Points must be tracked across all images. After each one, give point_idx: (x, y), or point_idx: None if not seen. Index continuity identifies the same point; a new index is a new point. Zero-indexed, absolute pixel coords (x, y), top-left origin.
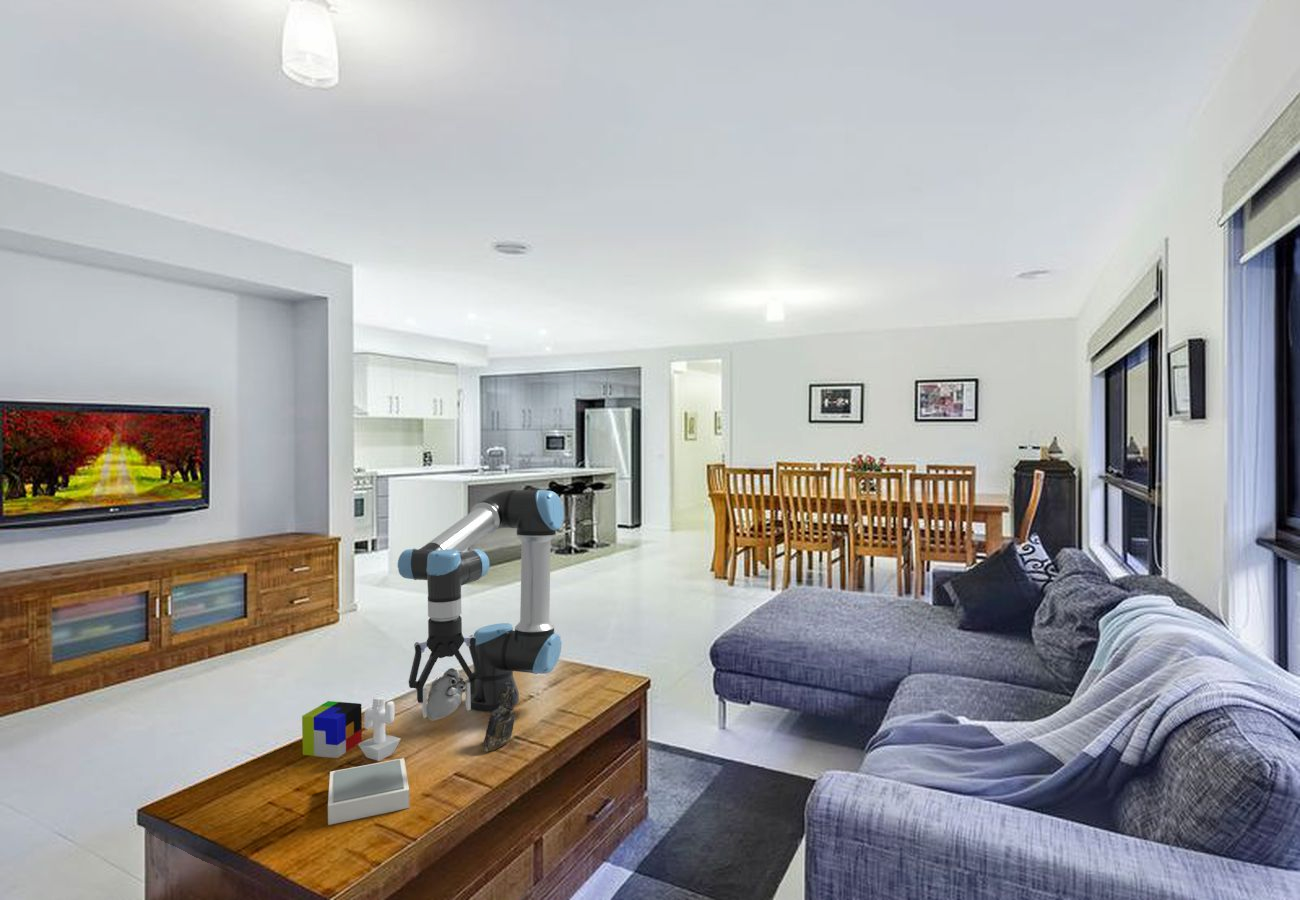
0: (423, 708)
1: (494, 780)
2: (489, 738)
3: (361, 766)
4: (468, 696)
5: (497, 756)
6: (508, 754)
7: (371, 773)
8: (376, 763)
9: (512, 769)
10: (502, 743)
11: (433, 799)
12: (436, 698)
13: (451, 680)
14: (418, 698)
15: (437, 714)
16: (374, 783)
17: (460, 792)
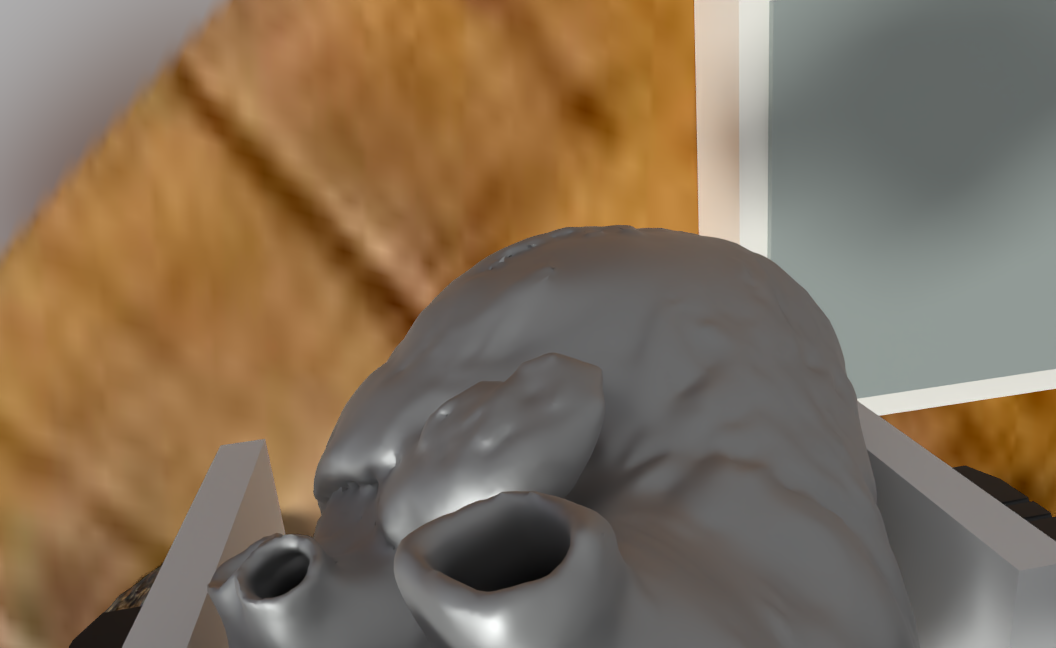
0: (862, 406)
1: (162, 164)
2: None
3: (973, 394)
4: (202, 546)
5: (154, 478)
6: (79, 488)
7: (940, 270)
8: (894, 408)
9: (39, 281)
10: (116, 600)
11: (553, 41)
12: (782, 359)
13: (568, 558)
14: (1014, 505)
15: (680, 232)
16: (938, 124)
17: (387, 74)
